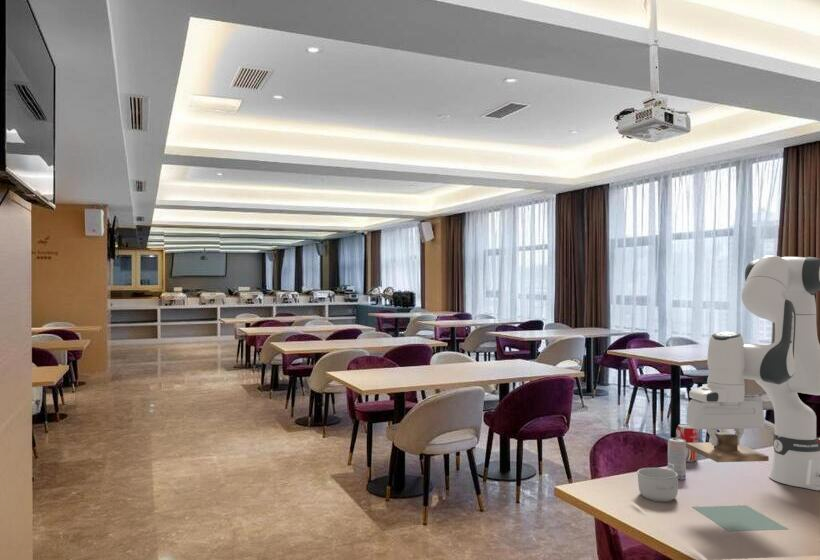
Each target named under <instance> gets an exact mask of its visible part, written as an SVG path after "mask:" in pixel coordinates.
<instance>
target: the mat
mask: <svg viewBox="0 0 820 560" xmlns="http://www.w3.org/2000/svg"><path fill="white" fill-rule="evenodd" d="M691 508H692V509H694V510H696V511H697V512H699V514H701V515H703V516H705V517H706V518H708V519H709V520H711V521H712V522H714V523H715V524H717V525H718V526H719V527H721V528H723V529H724V530H726V531H727V532H743V531H744V532H745V531H746V532H747V531H750V532H751V531H752V532H753V531H777V530H779V531H780V530H789V528H787V527H786V526H784V525H782V524H781V523H779V522H777V521H775V520H774V519H772V518H770V517H768V516H766V515H765V514H763V513H761V512H759V511H757V510H756V509H754V508H752V507H750V506H749V505H747V504H745V505H716V506H715V505H714V506H713V505H712V506H711V505H710V506H691Z"/></svg>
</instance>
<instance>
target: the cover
mask: <svg viewBox="0 0 820 560" xmlns="http://www.w3.org/2000/svg"><path fill="white" fill-rule="evenodd" d="M734 434H735V433H731V432H728V431H727V432H726V431H725V432H721V431H720V432H718V431H717V433H715V435H716V437H717V438H718V439H721V442H720V446H714V445H712V444H711V442H698V443H686V447H687V448H689V449H691V450H693V451H695V452H697V453H698V454H699V455H701V456H703V457H705V458H707V459H710V460H712V461H713V462H716V463H738V462H740V463H743V462H748V463H749V462H769V455H766V454H764V453H761V452H759V451H756V450H754V449H752V448H749V447H746V446H744V445H742V444H740V445H738V436H736V435H734Z"/></svg>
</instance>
